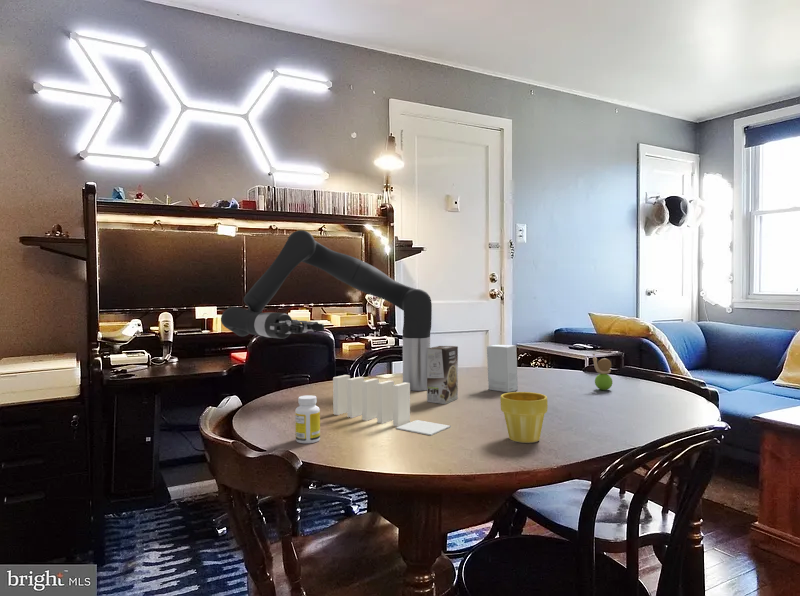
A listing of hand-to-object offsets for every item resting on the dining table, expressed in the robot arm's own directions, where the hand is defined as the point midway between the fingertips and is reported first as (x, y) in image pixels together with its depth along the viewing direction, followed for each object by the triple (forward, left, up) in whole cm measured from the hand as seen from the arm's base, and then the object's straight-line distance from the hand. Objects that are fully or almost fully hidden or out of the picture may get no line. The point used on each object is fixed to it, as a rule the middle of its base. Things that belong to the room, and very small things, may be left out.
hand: (312, 328), depth 152 cm
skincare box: (-61, +17, -23) cm, 67 cm away
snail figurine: (-86, +38, -23) cm, 97 cm away
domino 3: (-5, +20, -22) cm, 31 cm away
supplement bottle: (+17, +27, -23) cm, 39 cm away
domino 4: (-7, +25, -22) cm, 34 cm away
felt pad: (-10, +36, -22) cm, 43 cm away
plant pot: (-21, +57, -23) cm, 65 cm away
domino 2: (-4, +15, -22) cm, 27 cm away
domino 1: (-3, +10, -22) cm, 25 cm away
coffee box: (-35, +16, -23) cm, 45 cm away
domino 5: (-8, +30, -22) cm, 38 cm away
